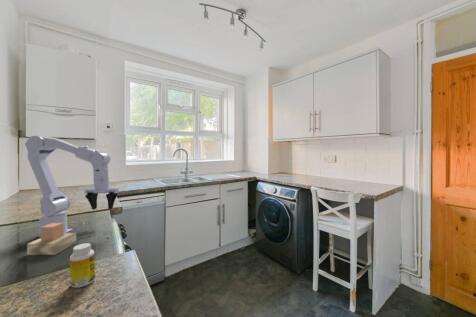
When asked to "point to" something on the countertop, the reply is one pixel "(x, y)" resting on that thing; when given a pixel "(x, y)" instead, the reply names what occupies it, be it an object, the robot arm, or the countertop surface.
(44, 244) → the base
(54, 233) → the block
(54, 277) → the countertop surface
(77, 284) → the supplement bottle
